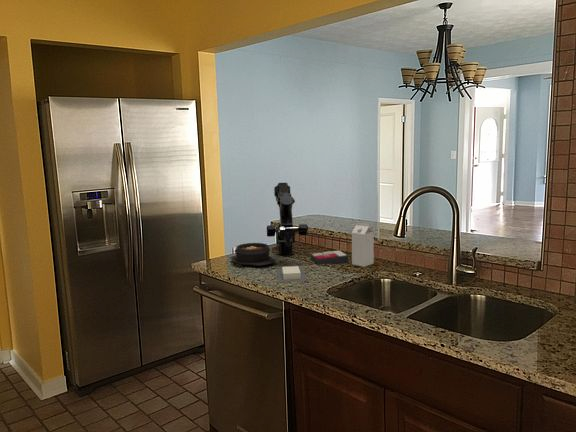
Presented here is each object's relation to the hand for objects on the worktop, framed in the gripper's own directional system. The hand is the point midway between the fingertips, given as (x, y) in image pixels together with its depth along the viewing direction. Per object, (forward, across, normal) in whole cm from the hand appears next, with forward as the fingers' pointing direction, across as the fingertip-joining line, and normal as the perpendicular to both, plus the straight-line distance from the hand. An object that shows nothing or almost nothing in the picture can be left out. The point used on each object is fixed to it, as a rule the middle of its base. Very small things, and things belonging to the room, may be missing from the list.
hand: (288, 246), depth 215 cm
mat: (+16, 0, +2) cm, 16 cm away
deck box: (+12, 0, +1) cm, 12 cm away
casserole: (0, +16, -16) cm, 22 cm away
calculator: (+2, -20, -14) cm, 24 cm away
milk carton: (+7, -34, -8) cm, 36 cm away
